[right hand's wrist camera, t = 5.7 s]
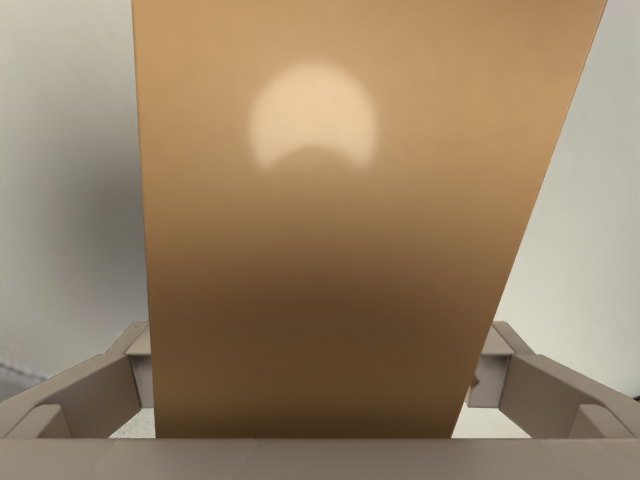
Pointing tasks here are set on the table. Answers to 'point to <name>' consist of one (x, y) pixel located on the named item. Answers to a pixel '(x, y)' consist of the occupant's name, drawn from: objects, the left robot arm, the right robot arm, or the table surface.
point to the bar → (338, 201)
